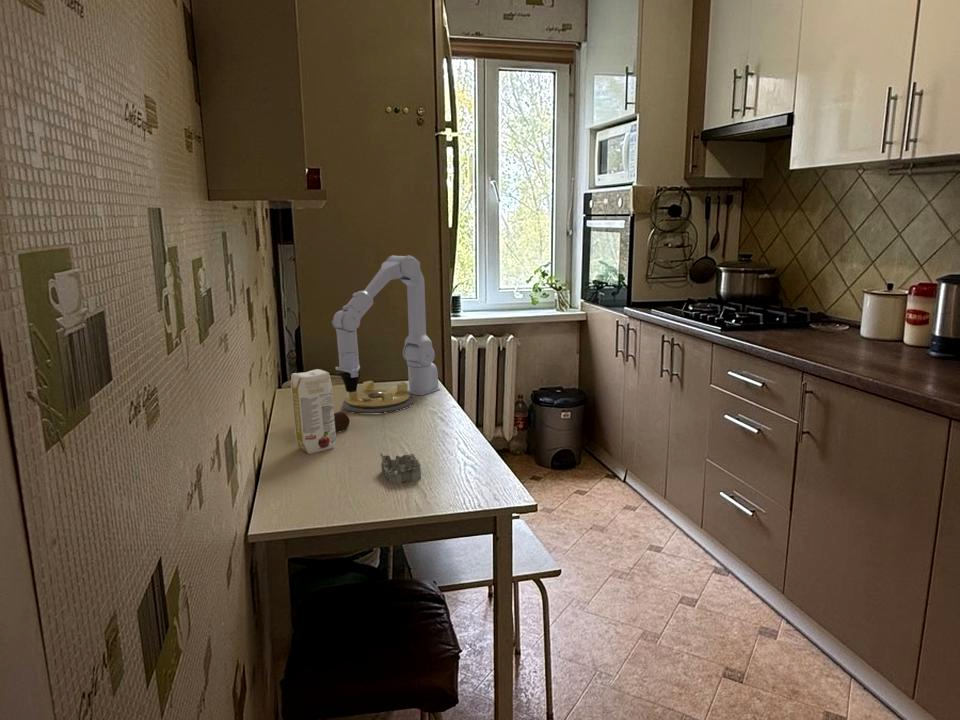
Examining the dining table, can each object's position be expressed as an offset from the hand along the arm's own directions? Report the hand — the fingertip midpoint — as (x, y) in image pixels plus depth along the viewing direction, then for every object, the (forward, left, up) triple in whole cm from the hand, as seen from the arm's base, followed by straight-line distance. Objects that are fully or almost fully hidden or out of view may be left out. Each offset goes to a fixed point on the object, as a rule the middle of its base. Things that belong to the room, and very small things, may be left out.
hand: (351, 396), depth 198 cm
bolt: (+16, +8, -4) cm, 18 cm away
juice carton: (+30, +20, -4) cm, 37 cm away
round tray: (-7, +4, -2) cm, 8 cm away
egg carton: (+32, +50, -4) cm, 60 cm away
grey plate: (-7, +4, -4) cm, 9 cm away
